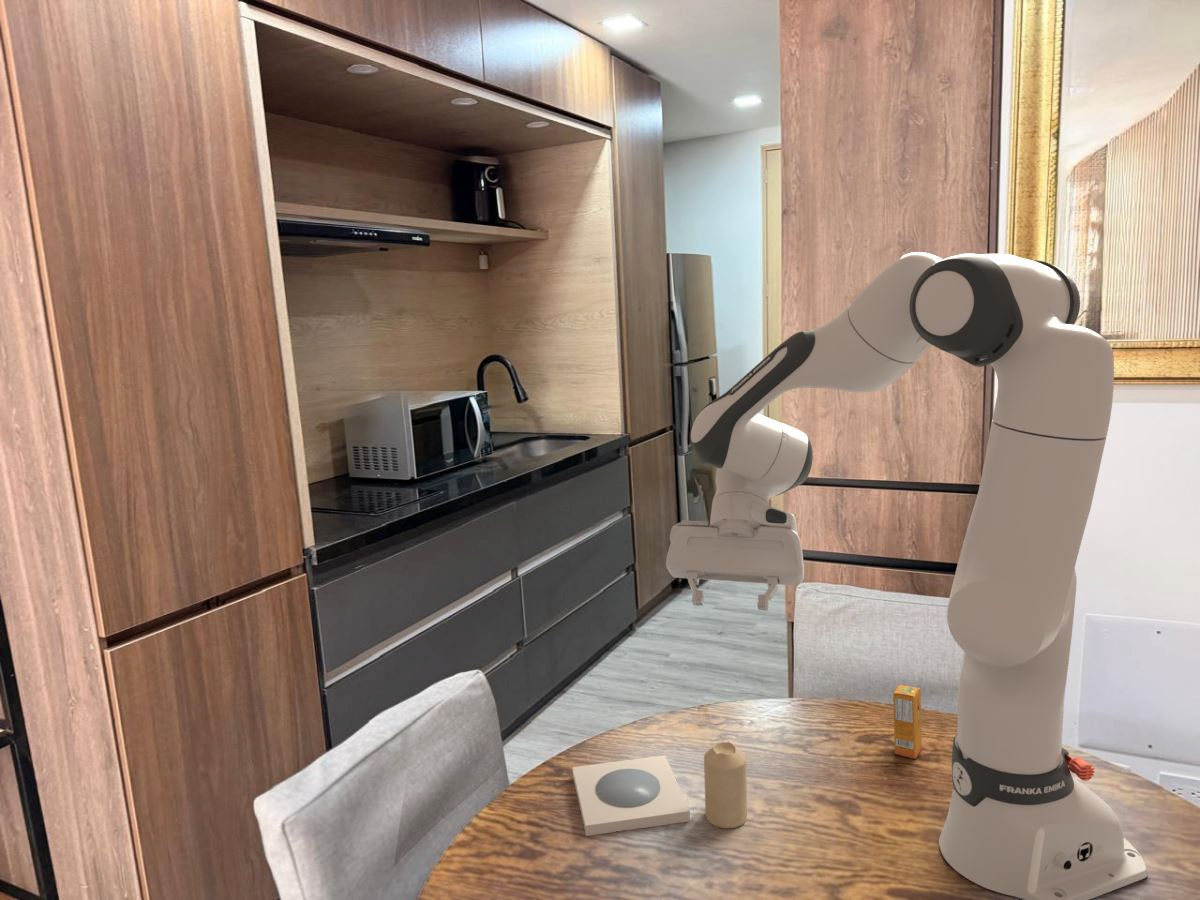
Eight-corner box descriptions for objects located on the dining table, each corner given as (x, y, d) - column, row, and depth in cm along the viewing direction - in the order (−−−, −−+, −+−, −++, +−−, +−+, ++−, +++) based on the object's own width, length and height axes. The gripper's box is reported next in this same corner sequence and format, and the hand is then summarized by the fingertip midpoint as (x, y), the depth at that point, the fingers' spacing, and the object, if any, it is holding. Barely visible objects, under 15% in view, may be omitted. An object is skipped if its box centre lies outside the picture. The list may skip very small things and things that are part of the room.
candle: (746, 830, 105) (745, 760, 104) (704, 827, 106) (702, 757, 105) (747, 805, 111) (746, 737, 109) (707, 802, 112) (705, 735, 110)
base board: (665, 764, 121) (665, 754, 121) (690, 821, 108) (689, 809, 107) (573, 776, 119) (572, 765, 119) (585, 836, 106) (585, 824, 105)
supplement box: (898, 743, 124) (899, 682, 122) (921, 750, 122) (923, 688, 120) (891, 753, 121) (893, 691, 120) (915, 760, 119) (917, 697, 118)
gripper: (669, 509, 125) (655, 591, 118) (805, 515, 119) (800, 602, 111) (675, 529, 130) (663, 609, 122) (807, 536, 124) (802, 621, 116)
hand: (729, 606), depth 117 cm, fingers open, 8 cm apart
